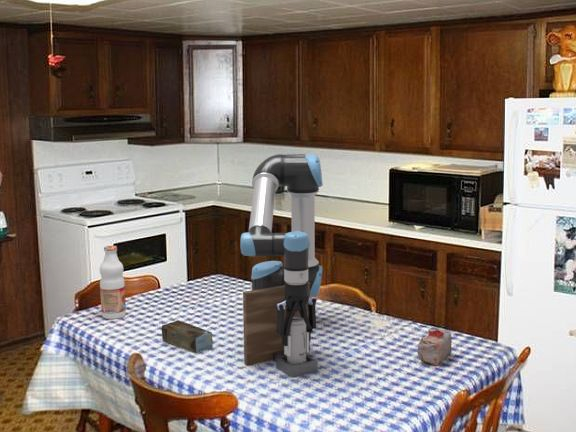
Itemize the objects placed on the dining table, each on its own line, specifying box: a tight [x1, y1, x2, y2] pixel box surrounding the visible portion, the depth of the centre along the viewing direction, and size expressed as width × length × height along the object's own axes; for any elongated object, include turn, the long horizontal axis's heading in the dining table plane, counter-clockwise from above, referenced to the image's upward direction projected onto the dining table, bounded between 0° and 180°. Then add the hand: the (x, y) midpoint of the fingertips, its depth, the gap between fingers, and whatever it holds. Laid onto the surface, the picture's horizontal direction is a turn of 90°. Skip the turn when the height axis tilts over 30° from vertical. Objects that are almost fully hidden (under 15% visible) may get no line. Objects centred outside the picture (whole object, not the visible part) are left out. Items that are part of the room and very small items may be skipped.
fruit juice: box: [99, 245, 127, 320], centre depth 275 cm, size 9×9×28 cm
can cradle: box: [272, 350, 319, 378], centre depth 224 cm, size 16×10×4 cm, turn 31°
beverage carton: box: [161, 319, 214, 354], centre depth 244 cm, size 8×19×7 cm, turn 47°
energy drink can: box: [287, 317, 307, 365], centre depth 220 cm, size 6×6×15 cm
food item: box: [417, 328, 453, 366], centre depth 229 cm, size 14×8×10 cm, turn 148°
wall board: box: [242, 282, 311, 366], centre depth 230 cm, size 2×24×24 cm, turn 121°
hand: (296, 352), depth 221 cm, fingers closed on energy drink can, 6 cm apart
